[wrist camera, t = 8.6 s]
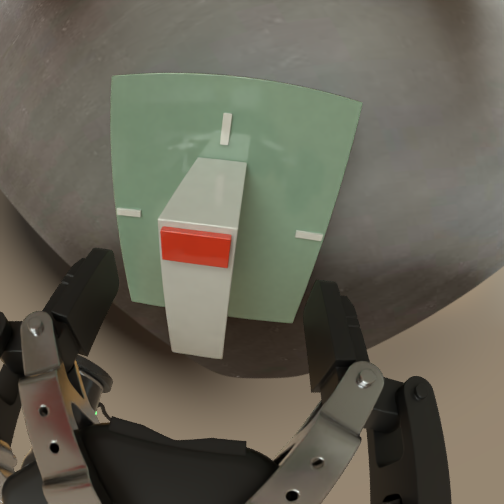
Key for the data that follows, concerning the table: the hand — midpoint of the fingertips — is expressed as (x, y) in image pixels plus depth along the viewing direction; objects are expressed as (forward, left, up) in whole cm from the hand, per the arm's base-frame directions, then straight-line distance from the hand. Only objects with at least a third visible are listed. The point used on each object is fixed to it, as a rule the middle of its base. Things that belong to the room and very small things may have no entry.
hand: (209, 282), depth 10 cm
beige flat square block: (0, 0, -4) cm, 4 cm away
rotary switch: (0, 0, -7) cm, 7 cm away
